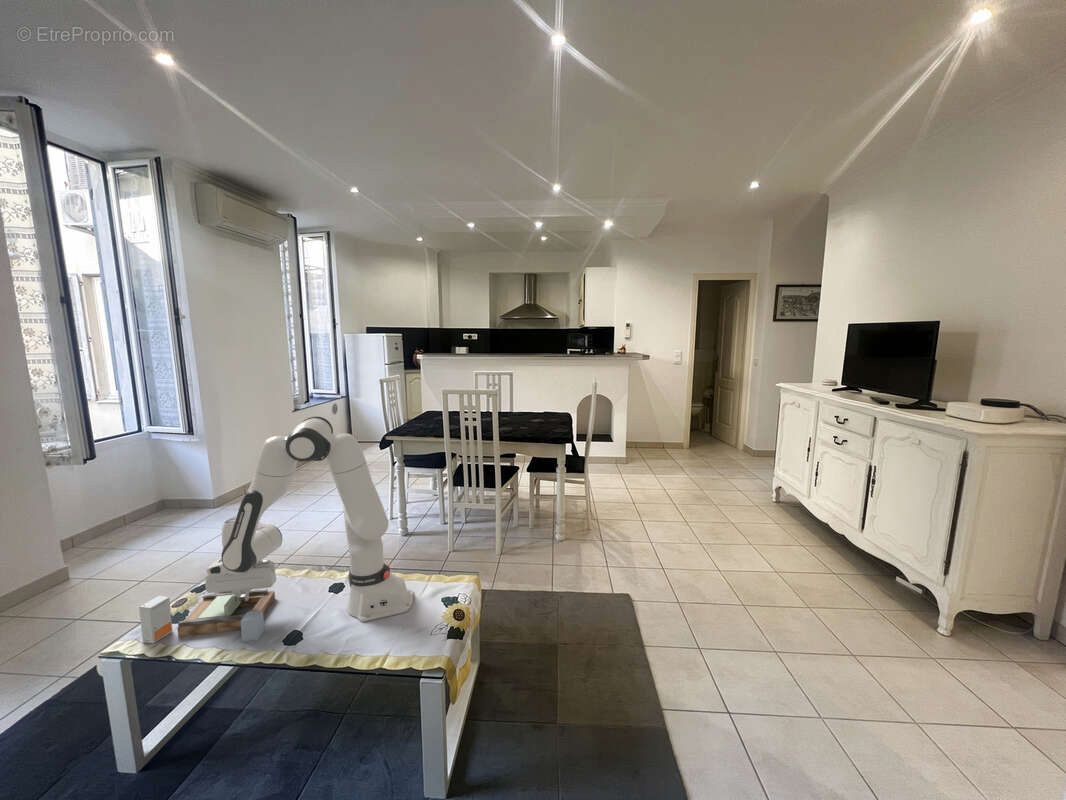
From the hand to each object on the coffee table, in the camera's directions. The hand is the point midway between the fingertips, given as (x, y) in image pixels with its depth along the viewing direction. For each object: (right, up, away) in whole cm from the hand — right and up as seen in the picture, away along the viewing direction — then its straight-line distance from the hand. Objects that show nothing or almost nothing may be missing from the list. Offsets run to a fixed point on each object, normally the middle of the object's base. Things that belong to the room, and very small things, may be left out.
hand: (243, 600), depth 142 cm
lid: (-6, -2, -1) cm, 7 cm away
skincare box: (-20, -7, -10) cm, 23 cm away
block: (+10, -7, -9) cm, 15 cm away
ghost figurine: (-14, -4, +12) cm, 19 cm away
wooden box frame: (-4, -5, 0) cm, 7 cm away
